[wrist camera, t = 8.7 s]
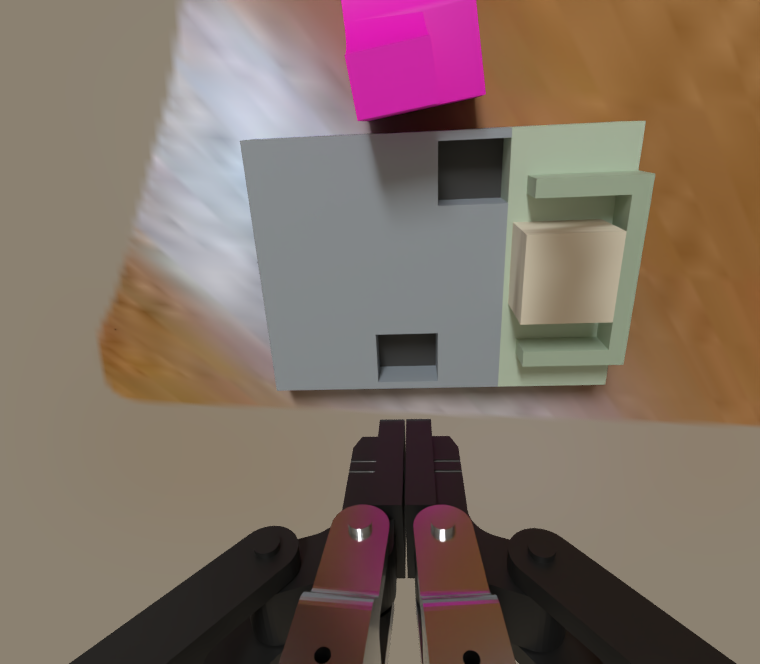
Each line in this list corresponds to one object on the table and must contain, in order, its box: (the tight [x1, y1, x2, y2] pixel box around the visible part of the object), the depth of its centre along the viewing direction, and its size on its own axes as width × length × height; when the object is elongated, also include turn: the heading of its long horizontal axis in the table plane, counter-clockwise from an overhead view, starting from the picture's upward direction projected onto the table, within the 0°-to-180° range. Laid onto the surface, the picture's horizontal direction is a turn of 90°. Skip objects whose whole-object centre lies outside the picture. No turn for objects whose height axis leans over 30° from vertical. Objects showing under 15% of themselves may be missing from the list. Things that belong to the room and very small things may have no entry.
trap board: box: [240, 121, 655, 391], centre depth 30 cm, size 22×16×4 cm
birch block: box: [508, 219, 627, 325], centre depth 28 cm, size 5×5×4 cm
